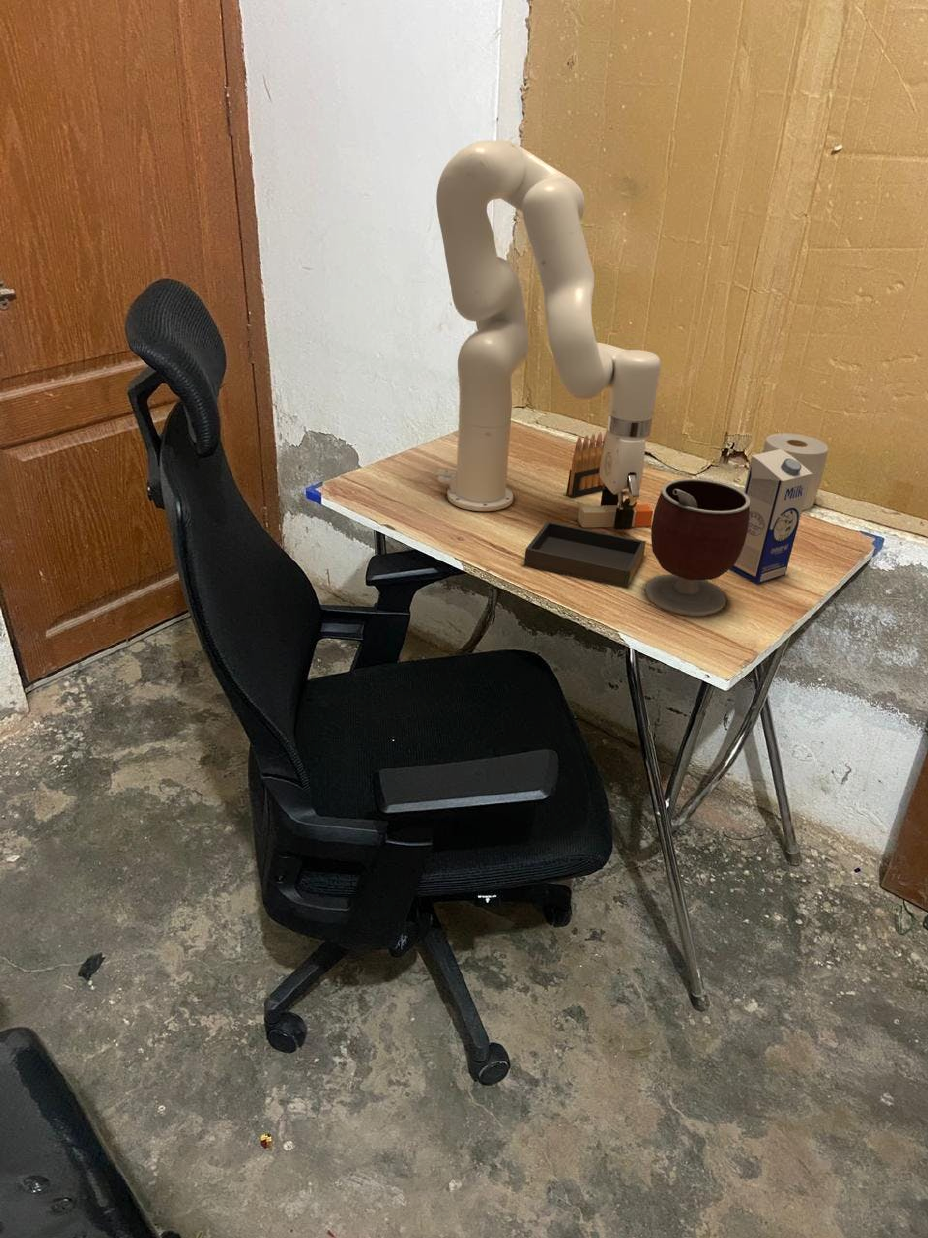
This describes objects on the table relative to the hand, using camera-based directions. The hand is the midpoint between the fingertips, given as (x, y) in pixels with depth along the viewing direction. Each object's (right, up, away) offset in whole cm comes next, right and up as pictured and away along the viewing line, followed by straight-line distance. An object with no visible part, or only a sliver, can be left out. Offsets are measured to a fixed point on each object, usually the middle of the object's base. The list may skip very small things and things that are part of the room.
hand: (615, 518), depth 158 cm
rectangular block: (0, -1, +1) cm, 1 cm away
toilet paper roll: (+36, +5, +15) cm, 40 cm away
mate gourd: (+6, -15, -23) cm, 28 cm away
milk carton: (+21, -11, -13) cm, 27 cm away
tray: (-8, -9, -13) cm, 18 cm away
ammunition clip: (-3, +7, +13) cm, 15 cm away
